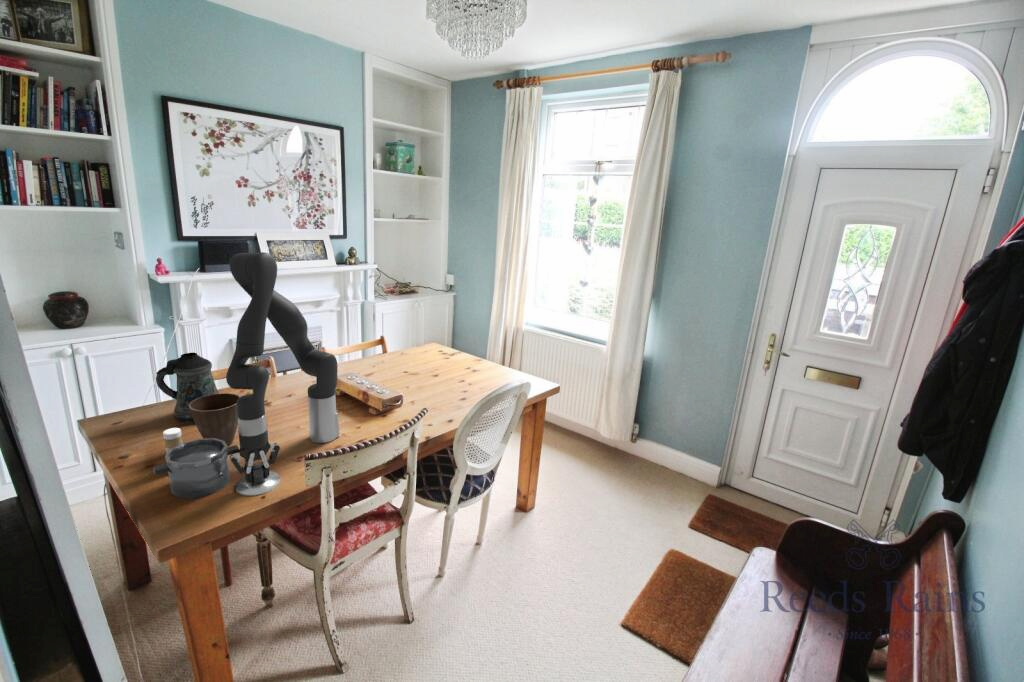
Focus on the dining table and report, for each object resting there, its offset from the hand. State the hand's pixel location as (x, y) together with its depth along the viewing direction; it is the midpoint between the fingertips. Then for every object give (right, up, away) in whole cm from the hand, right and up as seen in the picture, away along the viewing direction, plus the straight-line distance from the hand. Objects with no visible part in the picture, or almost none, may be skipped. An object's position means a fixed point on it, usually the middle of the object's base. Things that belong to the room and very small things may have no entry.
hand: (257, 479), depth 144 cm
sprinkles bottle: (-28, +2, +5) cm, 29 cm away
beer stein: (-45, +13, +39) cm, 61 cm away
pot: (-16, -1, -1) cm, 16 cm away
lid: (0, -2, +1) cm, 2 cm away
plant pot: (-25, +6, +21) cm, 33 cm away
